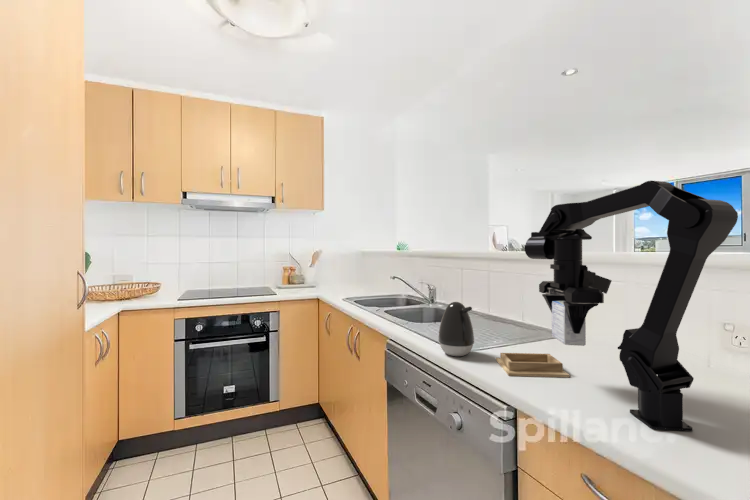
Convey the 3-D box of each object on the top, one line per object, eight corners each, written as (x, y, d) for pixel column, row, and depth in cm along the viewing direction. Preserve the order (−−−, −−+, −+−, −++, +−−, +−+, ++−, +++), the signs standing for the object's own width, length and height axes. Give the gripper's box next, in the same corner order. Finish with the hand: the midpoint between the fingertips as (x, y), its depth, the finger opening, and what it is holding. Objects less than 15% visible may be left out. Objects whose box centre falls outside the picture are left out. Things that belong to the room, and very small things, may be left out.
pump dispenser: (460, 361, 96) (460, 305, 96) (431, 353, 104) (431, 301, 104) (482, 354, 102) (481, 302, 102) (453, 346, 110) (452, 298, 110)
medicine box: (586, 346, 76) (586, 306, 76) (564, 345, 76) (564, 305, 76) (571, 337, 84) (571, 300, 84) (551, 336, 84) (551, 300, 84)
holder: (569, 377, 84) (569, 366, 84) (508, 375, 85) (508, 365, 85) (548, 361, 96) (548, 351, 96) (496, 360, 97) (496, 350, 97)
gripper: (631, 261, 70) (631, 340, 70) (584, 259, 89) (584, 321, 89) (572, 261, 71) (573, 339, 71) (538, 259, 90) (538, 320, 90)
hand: (567, 329), depth 80 cm, fingers closed on medicine box, 8 cm apart
